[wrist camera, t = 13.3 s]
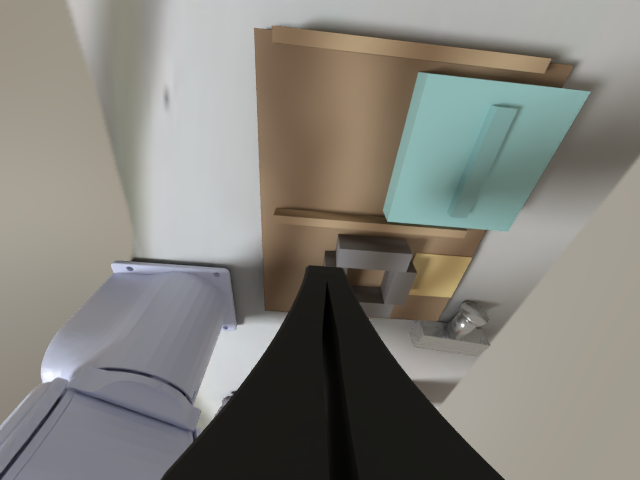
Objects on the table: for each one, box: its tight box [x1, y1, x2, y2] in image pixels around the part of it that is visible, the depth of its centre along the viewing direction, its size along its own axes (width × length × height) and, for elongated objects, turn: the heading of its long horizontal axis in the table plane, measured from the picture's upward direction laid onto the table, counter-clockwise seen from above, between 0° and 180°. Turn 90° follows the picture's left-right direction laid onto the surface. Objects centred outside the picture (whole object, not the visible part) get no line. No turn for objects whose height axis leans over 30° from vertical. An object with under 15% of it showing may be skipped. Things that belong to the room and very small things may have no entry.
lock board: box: [254, 26, 574, 321], centre depth 18 cm, size 16×20×3 cm
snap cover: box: [383, 72, 590, 231], centre depth 15 cm, size 8×8×2 cm
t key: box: [410, 301, 490, 356], centre depth 26 cm, size 7×2×6 cm
